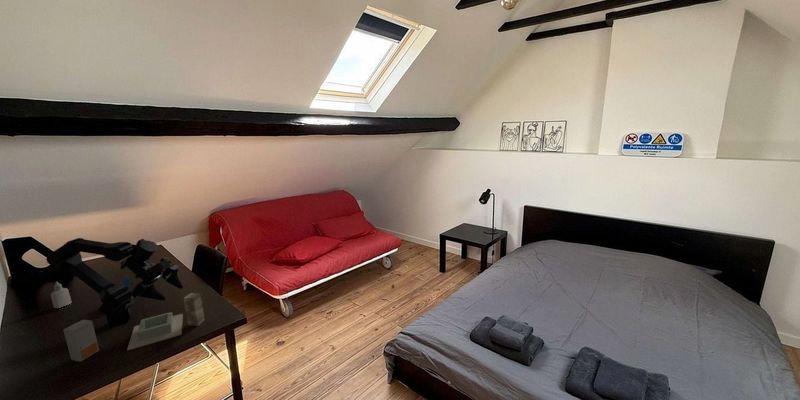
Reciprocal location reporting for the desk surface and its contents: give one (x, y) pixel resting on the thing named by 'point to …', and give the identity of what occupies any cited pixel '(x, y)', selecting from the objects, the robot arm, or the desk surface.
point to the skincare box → (81, 340)
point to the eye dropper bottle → (60, 296)
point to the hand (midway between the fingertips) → (173, 293)
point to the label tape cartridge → (127, 284)
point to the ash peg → (194, 309)
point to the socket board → (156, 330)
